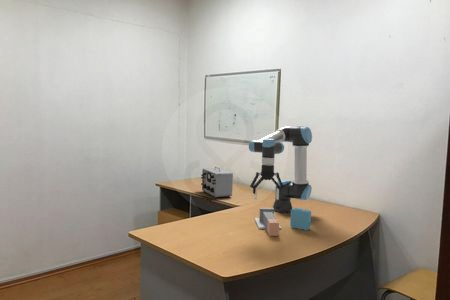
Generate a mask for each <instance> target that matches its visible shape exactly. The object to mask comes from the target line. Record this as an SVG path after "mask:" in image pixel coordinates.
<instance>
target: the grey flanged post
mask: <svg viewBox="0 0 450 300" xmlns="http://www.w3.org/2000/svg"><path fill="white" fill-rule="evenodd" d="M258 215H259V217H255V218H254V221H255V224H256V226H257V228H258V230H265V231H266V232H267V219H277V217H276V216H275V211H274V208H273V207H259V212H258ZM279 230H282V227H281V225H280V224H279Z"/></svg>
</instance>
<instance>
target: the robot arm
mask: <svg viewBox="0 0 450 300" xmlns="http://www.w3.org/2000/svg"><path fill="white" fill-rule="evenodd" d="M312 139H313V134H312V131H311V128H310V127H308V126H297V125H296V126H295V125H293V126H291V125H289V126H288V125H287V126H284V127H280V128H278V129H276V130H274V132H273V133H270V134H268V135H266V136H264V137H262V138H260V139H257V140H254V139H253V140H250V141H249V143H248V150H249V151H250V152H251V153H260V154H261V169H260V170H261V171H260V172H258V171H256V172H255V175H254V177H253V180H252V181H251V183H250V185H249V187H250V188H252V194H253V195H254V200H256V201H257V199H258V198H257V197H258V196H257V194H258V189H257V188H258V186H260V184H261V183H262V182H263V181H270V180H271V181H272V182H273V184H275V192H274V195H275V198H274V202H273V205H272V208H274V212H276V211H277V213H283V212H288V213H291V210H292V209H294V207H293V204H292V201H291V199H295V200H300V201H308V200H309V199H310V197H311V194H312V185H311V184H309V183H310V182H309V181H308V178H307V176H308V175H307V172H308V171H307V169H308V168H307V158H308V157H307V156H308V155H307V154H308V153H307V151H308V150H307V149H308V147H309V145H310V144H311V143H312ZM283 142H284V143H285V142H286V143H292V146H293V148H294V179H293V180H291V179H281V177H280V173H279V172H275V158H276V157H275V155H279V154H282V153H283V152H284V150H285V145H284V143H283ZM260 176H261V177H260ZM274 176H275V177H276V179H277V181H276V179H275V178H274ZM259 177H260V178H259ZM258 178H259V179H258Z"/></svg>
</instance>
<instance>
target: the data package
mask: <svg viewBox="0 0 450 300" xmlns="http://www.w3.org/2000/svg"><path fill="white" fill-rule="evenodd" d="M311 223H312V211H311V210H309V209H304V208H303V209H302V208H297V207H293V209H292V210H291V212H290V223H289V224H290V227H291V228H292V229H296V228H298V229H297V230H301V229H304V230H303V231H308V230H310V229H311V226H312V224H311Z"/></svg>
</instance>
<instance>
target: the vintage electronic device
mask: <svg viewBox="0 0 450 300" xmlns="http://www.w3.org/2000/svg"><path fill="white" fill-rule="evenodd" d="M233 173H234V172H232V171H228V170H225V169H222V168H220V167H217V166H214V168H202V174H201V178H200V179H201V182H202V183H201V184H200V185H201V190H202V192H204V193H206V194H208V195H210V196H212V197H213V198H215V199H218V198H222V197H227V198H231V197H232V196H233V185H234V184H233V180H234V179H233V177H234V176H233Z"/></svg>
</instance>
